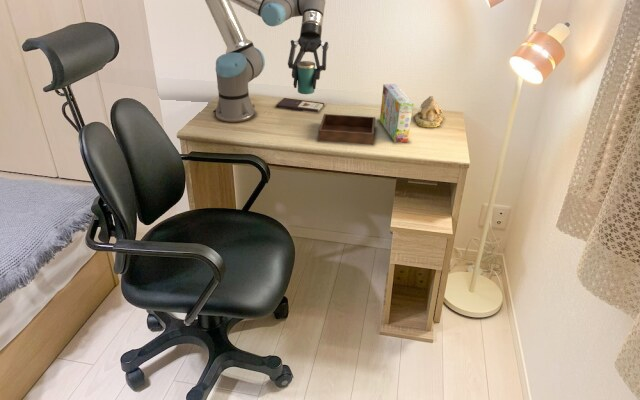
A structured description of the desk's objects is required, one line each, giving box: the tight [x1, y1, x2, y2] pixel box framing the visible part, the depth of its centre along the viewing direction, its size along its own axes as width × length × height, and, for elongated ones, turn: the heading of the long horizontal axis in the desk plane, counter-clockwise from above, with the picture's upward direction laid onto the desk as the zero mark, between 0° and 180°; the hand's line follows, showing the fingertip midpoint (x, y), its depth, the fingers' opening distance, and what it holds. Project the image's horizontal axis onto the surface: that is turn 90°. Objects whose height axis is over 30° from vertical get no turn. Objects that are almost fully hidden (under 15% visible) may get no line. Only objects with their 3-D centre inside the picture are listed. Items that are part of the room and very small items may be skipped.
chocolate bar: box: [275, 97, 325, 113], centre depth 201 cm, size 9×1×18 cm
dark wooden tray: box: [318, 113, 376, 145], centre depth 177 cm, size 20×16×4 cm
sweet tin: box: [297, 60, 316, 95], centre depth 169 cm, size 6×6×10 cm
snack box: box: [379, 83, 414, 143], centre depth 177 cm, size 21×6×15 cm, turn 9°
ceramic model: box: [414, 95, 444, 128], centre depth 187 cm, size 14×11×10 cm
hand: (304, 86), depth 167 cm, fingers closed on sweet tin, 6 cm apart
